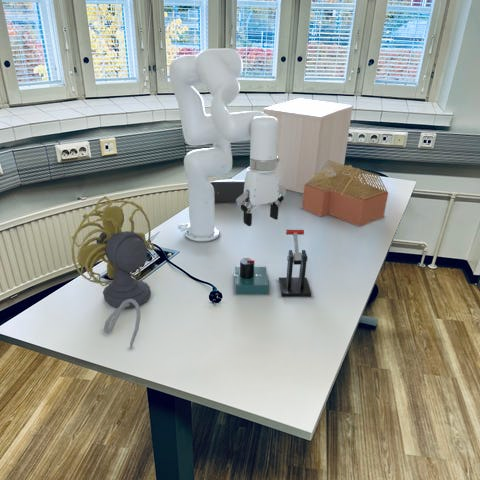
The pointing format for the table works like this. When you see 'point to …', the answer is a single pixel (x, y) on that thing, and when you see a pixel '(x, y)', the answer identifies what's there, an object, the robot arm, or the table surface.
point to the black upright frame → (295, 279)
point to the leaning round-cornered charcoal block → (227, 190)
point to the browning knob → (246, 268)
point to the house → (345, 195)
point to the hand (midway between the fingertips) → (260, 221)
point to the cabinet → (309, 139)
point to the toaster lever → (296, 245)
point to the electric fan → (116, 259)
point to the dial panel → (252, 282)
